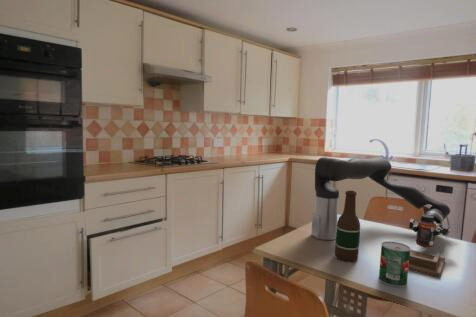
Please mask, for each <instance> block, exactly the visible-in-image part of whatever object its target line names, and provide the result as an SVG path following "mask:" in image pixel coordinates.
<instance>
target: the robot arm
mask: <svg viewBox="0 0 476 317" xmlns="http://www.w3.org/2000/svg"><path fill="white" fill-rule="evenodd" d="M391 170H392V164H391V162H389V160H387V159H385V158H382V157H373V158H372V157H371V158H352V159H351V158H350V159H348V160H344V159H343V160H342V159H339V158H334V157H333V158H332V157H322V156H321V157H319V158H318V159H317V160H316V163H315V169H314V191H315V202H314V205H315V206H314V212H312V219H311V235H312V236H313V237H314V238H315V239H317V240H323V241H332V240H336V231H337V222H338V215H339V213H338V212H339V199H340V191H339V189H337V188H335V187H334V186H333V185H332V184H331V183H330V182H340V181H344V180H349V179H350V180H362V179H366V178H369V179H370V180H372V181H373V182H375V183H376V184H377V185H378V184H379V185H380V186H382V187H383V188H385V189H387V190H389V191H390V192H392V193H394V194H396V195H398V196H399V197H401V198H402V199H403V200H405V201H406V202H408V203H409V204H410V205H411V206H413V207H414V208H416V209H417V210H420V209H422V208H424V207H425V206H428V205H430V207H429V209H428V210H427V211H426V212H425V213H424V214H423V215H430V216H433V217H434V220H433V221H434V222H435V223H436V229H435V233H434V236H435V237H438V236H440V235H443V236H447V235H448V234H449V233H450V231H451V225H449V224H447V225H444V221H445V219H446V218H447V216H449V215H450V213H451V209H450V207H449V206H448V205H447V204H446V203H444V202H441V201H438V200H435V199H433V198H431V197H429V196H428V195H425V193H423V192H422V191H420V190H419V189H417V188H416V187H414V186H412V185H407V184H401V183H396V182H395V183H394V182H391V181H389V180H387V179H386V177H387V176H388V174H389V173H390V172H391ZM419 220H421V218H420V219H419ZM419 220H417V221H416V220H415V219H413V218H410V219H409V224H408V226H409V227H408V228H409V229H412V231H413V232H414V233H417V227H418V221H419ZM443 225H444V226H443Z"/></svg>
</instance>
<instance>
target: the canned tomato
mask: <svg viewBox="0 0 476 317" xmlns="http://www.w3.org/2000/svg"><path fill="white" fill-rule="evenodd" d="M380 249H381V250H380V259H379V270H378V271H379V273H378V280H379V281H380V282H381V283H383V284H385V285H387V286H391V287H396V288H403V287H406V286H407V285H408V276H409V275H408V274H409V270H408V267H409V256H410V250H411V247H410V246H408V245H407V244H405V243H401V242H397V241H383V242H382V243H381V248H380Z"/></svg>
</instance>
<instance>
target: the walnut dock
mask: <svg viewBox="0 0 476 317" xmlns="http://www.w3.org/2000/svg"><path fill="white" fill-rule="evenodd" d="M445 263H446V257H441V253H440V252H437V251H436V253H435V254H433V255H432V254H429V253H424V252H420V251H416V250H412V249H410V256H409V267H408V271H412V272H414V273H415V272H416V273H419V274H423V275H427V276H430V277H435V278H438V279H440V277H441V273H442V270H443V268H444V265H445Z"/></svg>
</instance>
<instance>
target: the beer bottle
mask: <svg viewBox="0 0 476 317" xmlns="http://www.w3.org/2000/svg"><path fill="white" fill-rule="evenodd" d="M344 194H345V200H344V207H343V212H342V214H340V216H339V217H338V218H337V229H336V238H335V247H334V256H335V258H337V260H339V261H342V262H345V263H355V262H356V261H357V260H358V259H359V249H360V248H359V247H360V239H361V238H360V237H361V236H360V235H361V222H360V220H359V217H358V216H357V212H356V206H357V205H356V197H357V192H356V191H354V190H346V191H345V193H344Z"/></svg>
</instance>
